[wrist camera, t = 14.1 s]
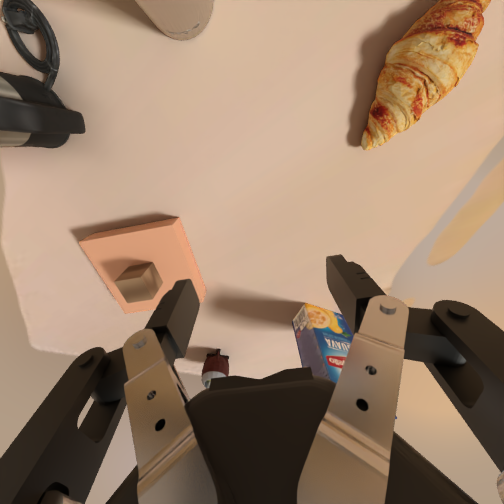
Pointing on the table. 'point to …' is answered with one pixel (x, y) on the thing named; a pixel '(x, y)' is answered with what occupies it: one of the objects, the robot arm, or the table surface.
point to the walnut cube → (139, 282)
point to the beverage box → (322, 340)
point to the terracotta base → (144, 258)
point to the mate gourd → (214, 368)
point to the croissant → (424, 67)
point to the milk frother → (33, 88)
